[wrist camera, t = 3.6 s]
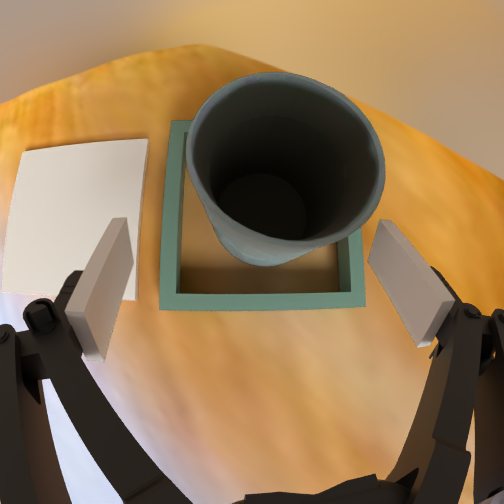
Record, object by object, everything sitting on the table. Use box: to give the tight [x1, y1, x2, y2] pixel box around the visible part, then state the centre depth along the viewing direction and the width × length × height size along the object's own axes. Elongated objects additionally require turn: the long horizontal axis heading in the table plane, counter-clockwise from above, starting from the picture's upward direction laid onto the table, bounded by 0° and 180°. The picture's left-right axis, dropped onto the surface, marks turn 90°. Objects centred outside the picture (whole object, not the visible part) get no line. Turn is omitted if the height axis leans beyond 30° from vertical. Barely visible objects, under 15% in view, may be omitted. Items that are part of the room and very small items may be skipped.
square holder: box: [159, 120, 366, 311], centre depth 25 cm, size 15×15×2 cm
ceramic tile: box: [1, 139, 150, 301], centre depth 24 cm, size 14×14×1 cm
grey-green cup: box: [186, 72, 385, 266], centre depth 21 cm, size 10×10×12 cm
